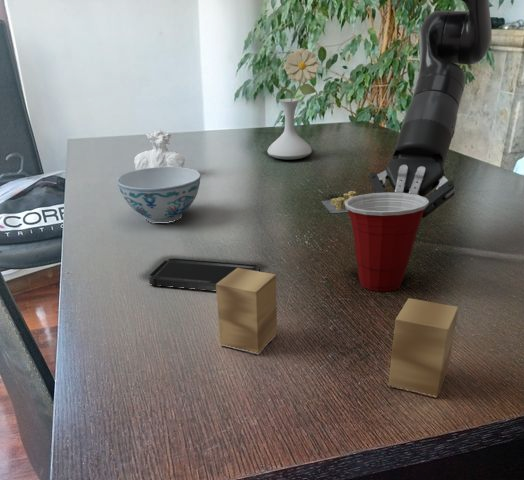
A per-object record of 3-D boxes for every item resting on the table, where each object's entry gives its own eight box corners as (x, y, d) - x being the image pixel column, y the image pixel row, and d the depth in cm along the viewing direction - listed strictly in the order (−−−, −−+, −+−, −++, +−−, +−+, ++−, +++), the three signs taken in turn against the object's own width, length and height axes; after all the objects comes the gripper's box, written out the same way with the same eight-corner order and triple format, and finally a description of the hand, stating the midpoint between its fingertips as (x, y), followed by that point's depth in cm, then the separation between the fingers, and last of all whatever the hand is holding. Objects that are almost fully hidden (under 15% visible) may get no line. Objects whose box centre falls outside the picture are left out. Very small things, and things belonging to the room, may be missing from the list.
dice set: (354, 200, 114) (354, 190, 113) (361, 208, 109) (362, 198, 108) (329, 202, 113) (329, 192, 112) (336, 210, 109) (336, 200, 108)
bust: (187, 186, 134) (191, 141, 135) (179, 173, 126) (183, 124, 128) (139, 185, 135) (143, 140, 137) (127, 172, 128) (132, 124, 129)
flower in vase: (261, 161, 144) (258, 50, 131) (274, 151, 153) (273, 46, 140) (311, 164, 140) (314, 50, 127) (322, 154, 149) (325, 46, 136)
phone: (167, 257, 87) (261, 265, 84) (168, 264, 88) (262, 272, 84) (145, 278, 81) (246, 287, 77) (146, 285, 81) (247, 295, 78)
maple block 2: (447, 373, 60) (458, 306, 56) (437, 399, 57) (448, 329, 53) (400, 363, 62) (408, 297, 58) (387, 387, 59) (395, 318, 55)
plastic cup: (384, 261, 87) (391, 182, 80) (435, 287, 79) (447, 201, 72) (325, 277, 82) (328, 195, 76) (372, 306, 74) (380, 217, 68)
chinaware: (132, 237, 99) (125, 192, 95) (117, 212, 111) (110, 172, 107) (214, 224, 104) (210, 181, 100) (191, 202, 116) (187, 163, 112)
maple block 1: (277, 335, 68) (276, 274, 64) (258, 355, 65) (256, 291, 60) (240, 327, 70) (237, 267, 66) (220, 346, 67) (215, 284, 62)
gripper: (379, 114, 83) (345, 221, 81) (472, 119, 78) (440, 234, 75) (386, 144, 90) (356, 243, 87) (473, 151, 85) (443, 257, 82)
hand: (395, 239), depth 81 cm, fingers closed
